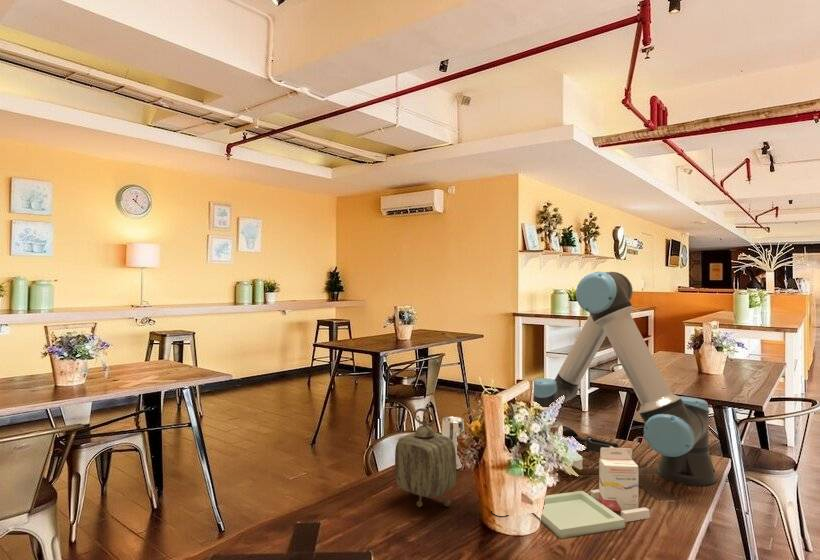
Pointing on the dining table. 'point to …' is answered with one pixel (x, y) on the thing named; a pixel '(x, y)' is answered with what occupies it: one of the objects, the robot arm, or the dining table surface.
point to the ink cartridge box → (618, 479)
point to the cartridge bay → (627, 514)
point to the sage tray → (578, 515)
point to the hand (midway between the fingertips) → (603, 461)
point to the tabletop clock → (425, 462)
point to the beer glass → (453, 432)
